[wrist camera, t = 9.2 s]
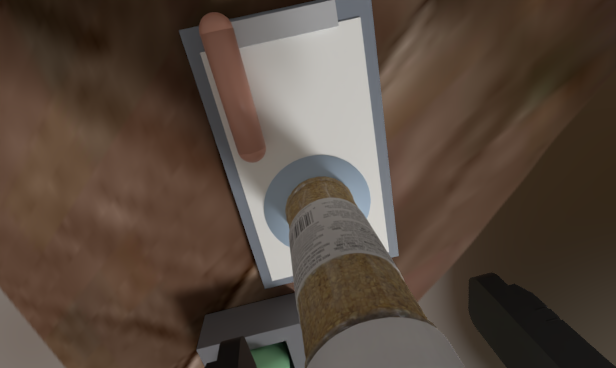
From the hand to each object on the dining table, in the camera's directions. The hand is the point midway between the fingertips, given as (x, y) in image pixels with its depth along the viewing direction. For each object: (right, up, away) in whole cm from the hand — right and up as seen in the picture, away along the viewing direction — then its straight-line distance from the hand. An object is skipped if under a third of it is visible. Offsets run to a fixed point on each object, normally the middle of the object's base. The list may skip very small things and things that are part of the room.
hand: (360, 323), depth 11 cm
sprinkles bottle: (-1, +3, +9) cm, 10 cm away
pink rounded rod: (-6, +10, +7) cm, 13 cm away
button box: (-5, -7, +14) cm, 16 cm away
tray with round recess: (-2, +6, +9) cm, 11 cm away
